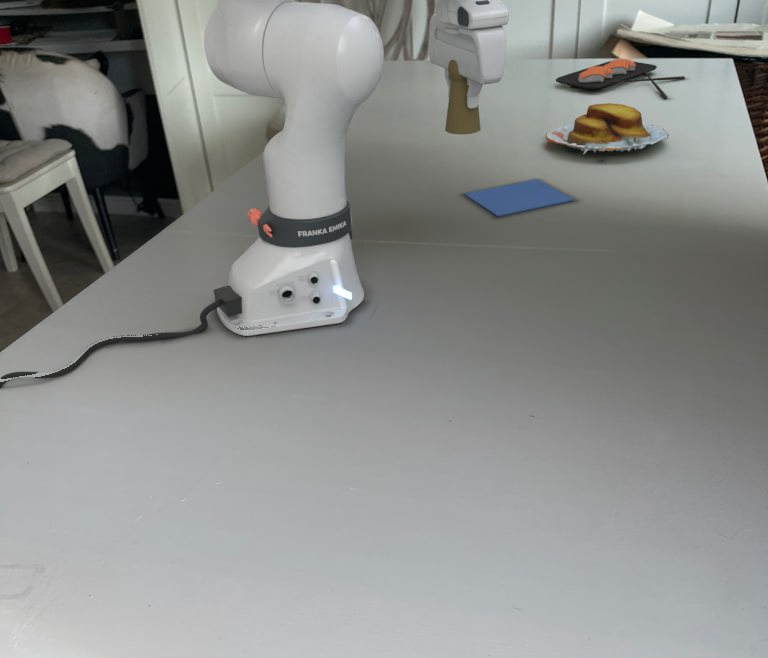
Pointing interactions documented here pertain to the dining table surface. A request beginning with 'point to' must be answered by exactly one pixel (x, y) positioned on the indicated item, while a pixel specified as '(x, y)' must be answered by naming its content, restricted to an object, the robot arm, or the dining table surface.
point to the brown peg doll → (460, 105)
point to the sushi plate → (611, 75)
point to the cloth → (518, 197)
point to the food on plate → (608, 130)
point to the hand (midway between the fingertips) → (463, 103)
